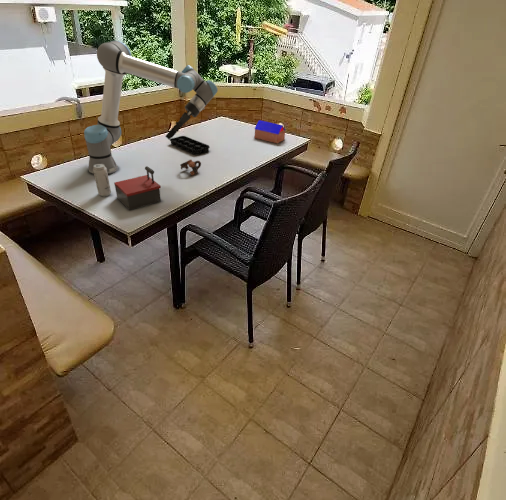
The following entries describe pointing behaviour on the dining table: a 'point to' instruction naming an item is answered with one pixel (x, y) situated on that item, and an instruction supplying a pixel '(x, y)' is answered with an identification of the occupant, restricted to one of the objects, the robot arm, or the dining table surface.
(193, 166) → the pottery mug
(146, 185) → the lid
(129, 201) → the dark gray box
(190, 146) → the egg carton
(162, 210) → the dining table surface
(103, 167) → the energy drink can
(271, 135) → the house
